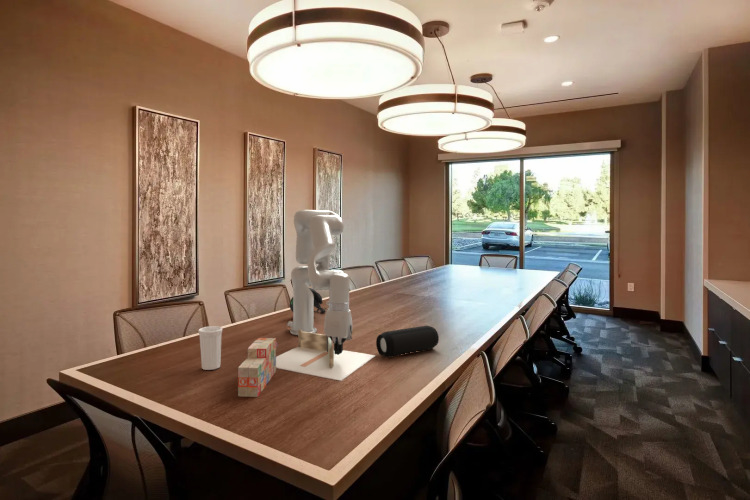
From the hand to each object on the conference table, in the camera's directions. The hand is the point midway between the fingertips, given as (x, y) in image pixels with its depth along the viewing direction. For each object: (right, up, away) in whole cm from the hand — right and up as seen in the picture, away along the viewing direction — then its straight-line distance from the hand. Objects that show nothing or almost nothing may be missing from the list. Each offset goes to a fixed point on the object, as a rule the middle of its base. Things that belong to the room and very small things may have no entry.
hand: (338, 353), depth 157 cm
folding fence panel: (-3, -2, +1) cm, 4 cm away
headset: (-23, +2, +72) cm, 75 cm away
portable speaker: (+27, -3, +12) cm, 30 cm away
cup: (-45, -3, -8) cm, 46 cm away
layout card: (-7, -3, +1) cm, 8 cm away
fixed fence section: (-11, -2, +14) cm, 18 cm away
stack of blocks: (-24, -5, -21) cm, 33 cm away
